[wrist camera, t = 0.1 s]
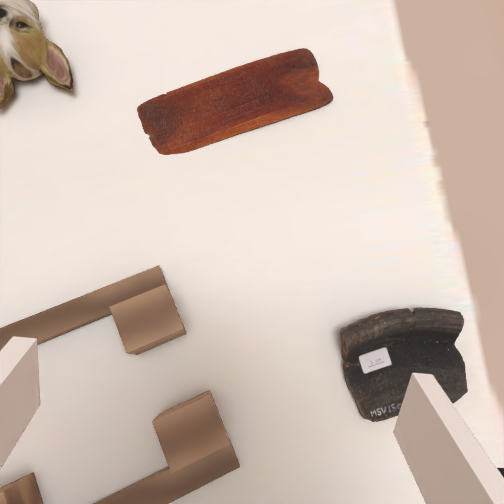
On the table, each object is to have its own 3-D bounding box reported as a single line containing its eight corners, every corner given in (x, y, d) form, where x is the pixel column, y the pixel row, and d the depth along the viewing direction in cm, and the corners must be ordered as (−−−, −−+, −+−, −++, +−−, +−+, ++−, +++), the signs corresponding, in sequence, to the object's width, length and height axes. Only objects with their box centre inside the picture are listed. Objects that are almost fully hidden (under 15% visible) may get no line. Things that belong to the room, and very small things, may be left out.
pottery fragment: (354, 424, 50) (367, 430, 46) (329, 324, 53) (340, 321, 48) (467, 396, 52) (490, 399, 48) (438, 300, 55) (457, 296, 51)
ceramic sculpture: (27, -48, 51) (63, 60, 49) (52, 6, 60) (83, 101, 57) (-67, -30, 49) (-35, 84, 47) (-28, 24, 58) (1, 122, 56)
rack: (239, 463, 47) (244, 480, 41) (-2, 586, 42) (-41, 628, 36) (160, 268, 52) (153, 253, 45) (-66, 357, 47) (-111, 356, 40)
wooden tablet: (306, 49, 63) (309, 41, 61) (335, 105, 61) (339, 98, 59) (131, 101, 58) (129, 93, 56) (157, 164, 56) (155, 158, 54)
